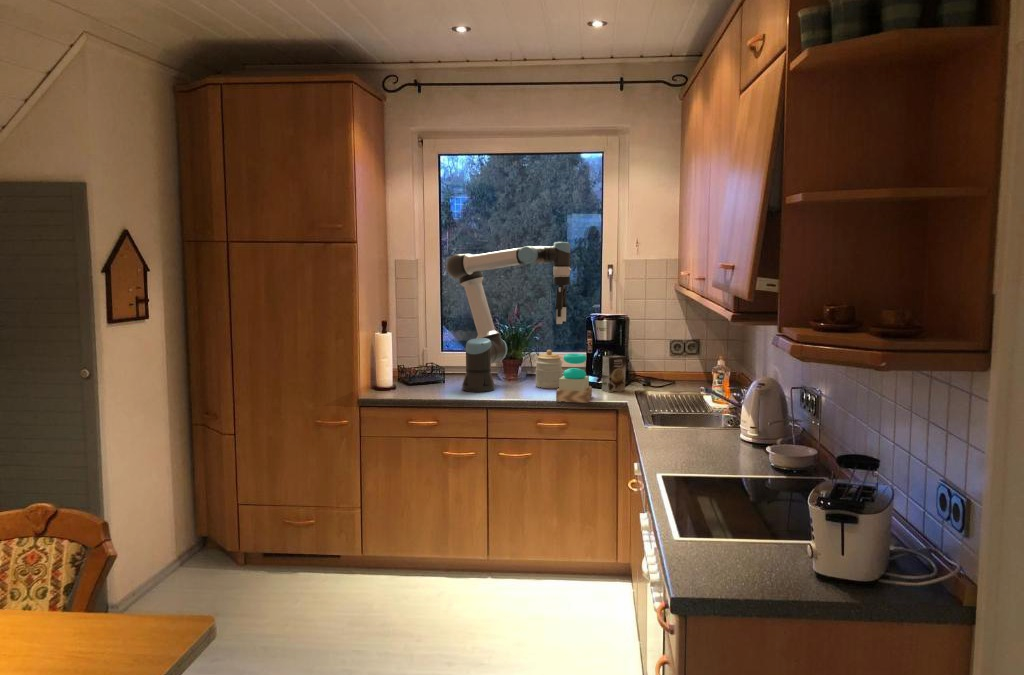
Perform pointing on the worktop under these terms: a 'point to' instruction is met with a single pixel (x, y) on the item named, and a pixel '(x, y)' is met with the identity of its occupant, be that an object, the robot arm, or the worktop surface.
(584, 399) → the tower base
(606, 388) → the coffee box
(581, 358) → the donuts
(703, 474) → the worktop surface
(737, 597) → the worktop surface
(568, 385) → the tower top
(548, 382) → the jar
